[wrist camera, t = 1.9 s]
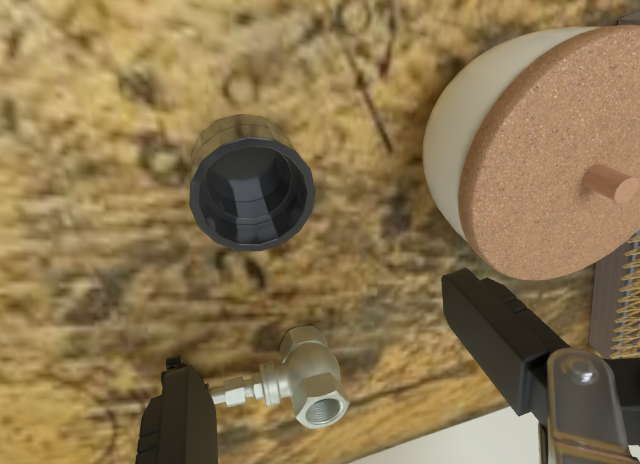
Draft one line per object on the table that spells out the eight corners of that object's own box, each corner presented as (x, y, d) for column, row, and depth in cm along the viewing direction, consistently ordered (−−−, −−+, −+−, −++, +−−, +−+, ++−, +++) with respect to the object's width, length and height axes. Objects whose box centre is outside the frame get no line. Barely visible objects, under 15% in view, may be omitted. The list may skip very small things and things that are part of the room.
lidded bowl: (592, 98, 28) (787, 146, 19) (469, 236, 31) (583, 334, 22) (489, -34, 22) (702, -61, 13) (352, 154, 25) (440, 242, 16)
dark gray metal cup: (212, 222, 25) (215, 266, 21) (174, 129, 22) (168, 159, 18) (304, 193, 26) (325, 230, 22) (280, 99, 22) (299, 121, 18)
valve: (325, 305, 31) (164, 338, 28) (353, 370, 25) (156, 419, 23) (327, 363, 34) (184, 398, 32) (353, 433, 29) (180, 481, 26)
